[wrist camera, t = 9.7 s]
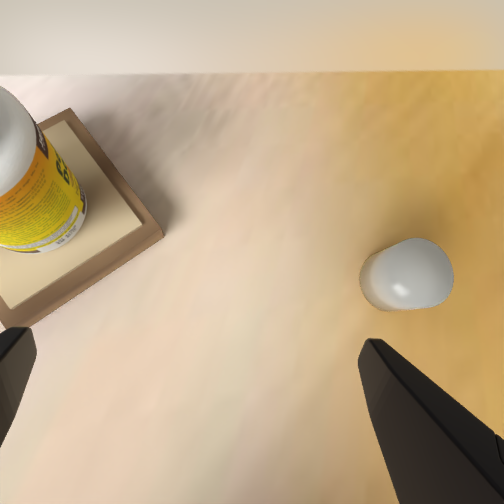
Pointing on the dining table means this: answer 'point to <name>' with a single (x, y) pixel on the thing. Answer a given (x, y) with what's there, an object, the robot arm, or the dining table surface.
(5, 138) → the supplement bottle
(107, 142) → the dining table surface
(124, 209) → the tan flat square block
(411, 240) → the white rounded knob
